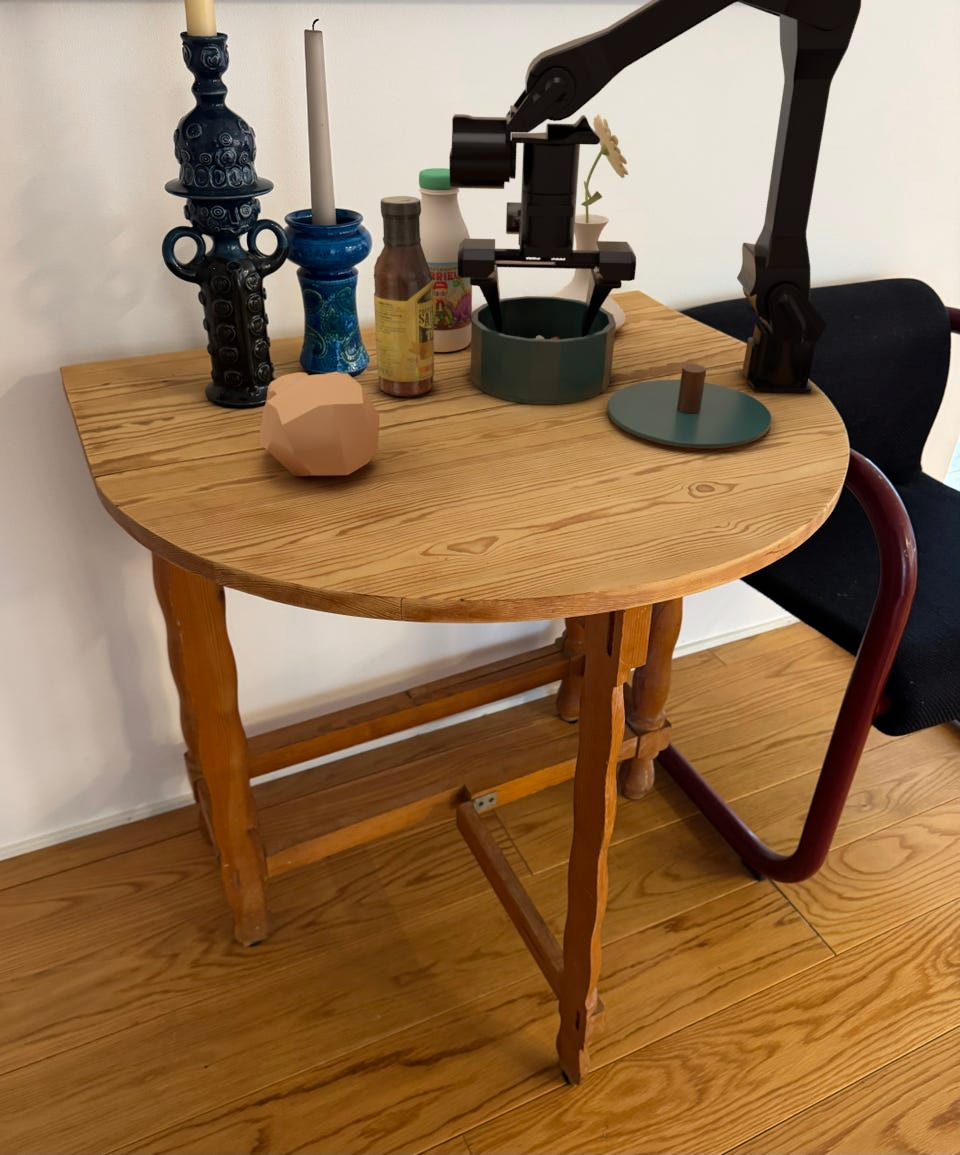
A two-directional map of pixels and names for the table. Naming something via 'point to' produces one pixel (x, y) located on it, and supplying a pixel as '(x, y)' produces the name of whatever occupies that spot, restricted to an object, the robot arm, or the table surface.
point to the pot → (541, 351)
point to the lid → (689, 412)
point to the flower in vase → (595, 223)
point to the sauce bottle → (403, 302)
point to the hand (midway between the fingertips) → (541, 337)
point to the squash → (319, 424)
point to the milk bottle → (445, 259)
